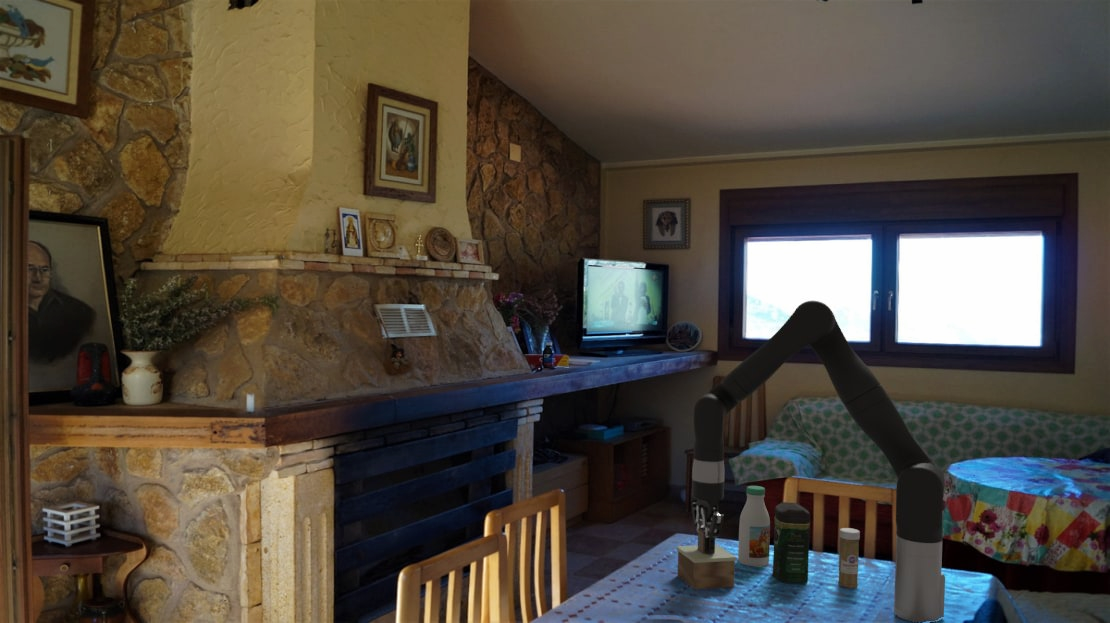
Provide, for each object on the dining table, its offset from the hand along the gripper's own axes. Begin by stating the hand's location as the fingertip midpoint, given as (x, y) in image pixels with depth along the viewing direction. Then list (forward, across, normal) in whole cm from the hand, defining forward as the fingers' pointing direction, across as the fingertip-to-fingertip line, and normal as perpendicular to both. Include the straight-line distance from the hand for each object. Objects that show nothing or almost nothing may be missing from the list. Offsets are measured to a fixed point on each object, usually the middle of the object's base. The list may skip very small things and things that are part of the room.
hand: (706, 550), depth 205 cm
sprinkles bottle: (+8, -7, -34) cm, 36 cm away
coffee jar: (+8, -1, -22) cm, 24 cm away
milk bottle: (+8, +12, -19) cm, 24 cm away
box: (+8, 0, 0) cm, 8 cm away
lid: (+1, 0, 0) cm, 1 cm away
